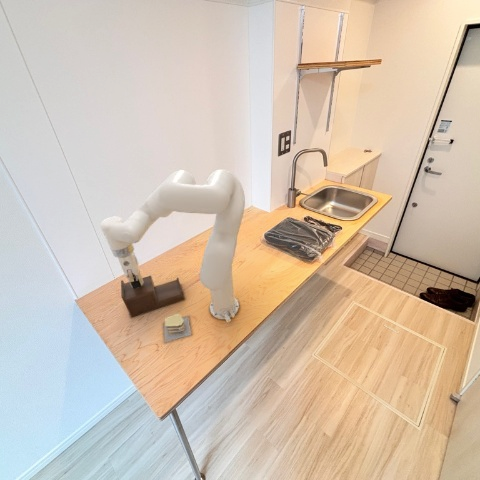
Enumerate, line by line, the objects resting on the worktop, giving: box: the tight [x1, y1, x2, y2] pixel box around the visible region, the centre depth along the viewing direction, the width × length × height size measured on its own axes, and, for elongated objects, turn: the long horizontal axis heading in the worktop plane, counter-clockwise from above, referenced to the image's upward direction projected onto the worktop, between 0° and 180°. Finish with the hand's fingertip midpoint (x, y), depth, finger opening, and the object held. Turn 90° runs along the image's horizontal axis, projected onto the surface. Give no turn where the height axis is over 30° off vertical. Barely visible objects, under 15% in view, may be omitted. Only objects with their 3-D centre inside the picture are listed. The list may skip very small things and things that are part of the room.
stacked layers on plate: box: [163, 313, 192, 343], centre depth 97 cm, size 10×9×6 cm
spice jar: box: [127, 269, 144, 288], centre depth 101 cm, size 6×6×8 cm
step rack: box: [120, 275, 185, 318], centre depth 108 cm, size 10×23×13 cm, turn 113°
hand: (136, 282), depth 102 cm, fingers closed on spice jar, 5 cm apart
